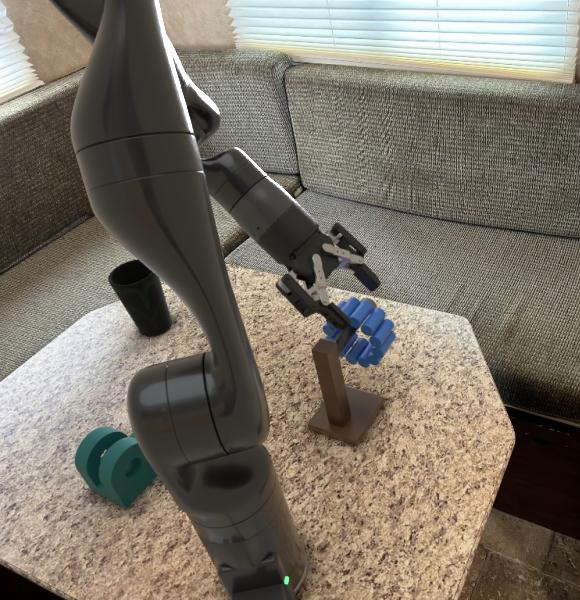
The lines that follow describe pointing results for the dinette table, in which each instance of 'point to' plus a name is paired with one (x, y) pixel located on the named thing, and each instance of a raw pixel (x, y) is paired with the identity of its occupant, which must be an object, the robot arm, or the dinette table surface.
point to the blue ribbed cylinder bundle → (364, 332)
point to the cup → (141, 297)
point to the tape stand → (341, 393)
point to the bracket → (113, 465)
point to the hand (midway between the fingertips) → (362, 306)
